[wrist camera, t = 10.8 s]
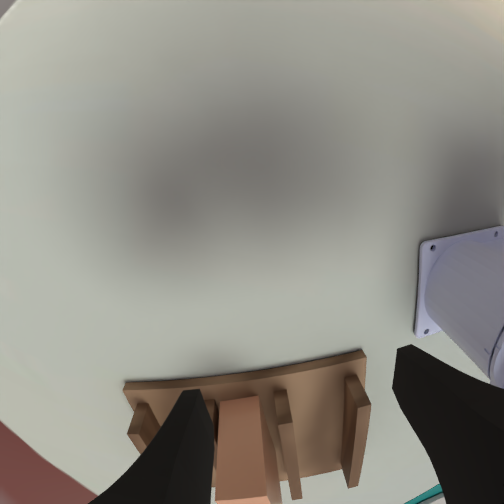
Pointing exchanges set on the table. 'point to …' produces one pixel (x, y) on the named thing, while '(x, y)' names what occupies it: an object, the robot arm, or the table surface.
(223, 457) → the orange-brown angular block
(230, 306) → the table surface
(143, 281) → the table surface
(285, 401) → the dish rack
